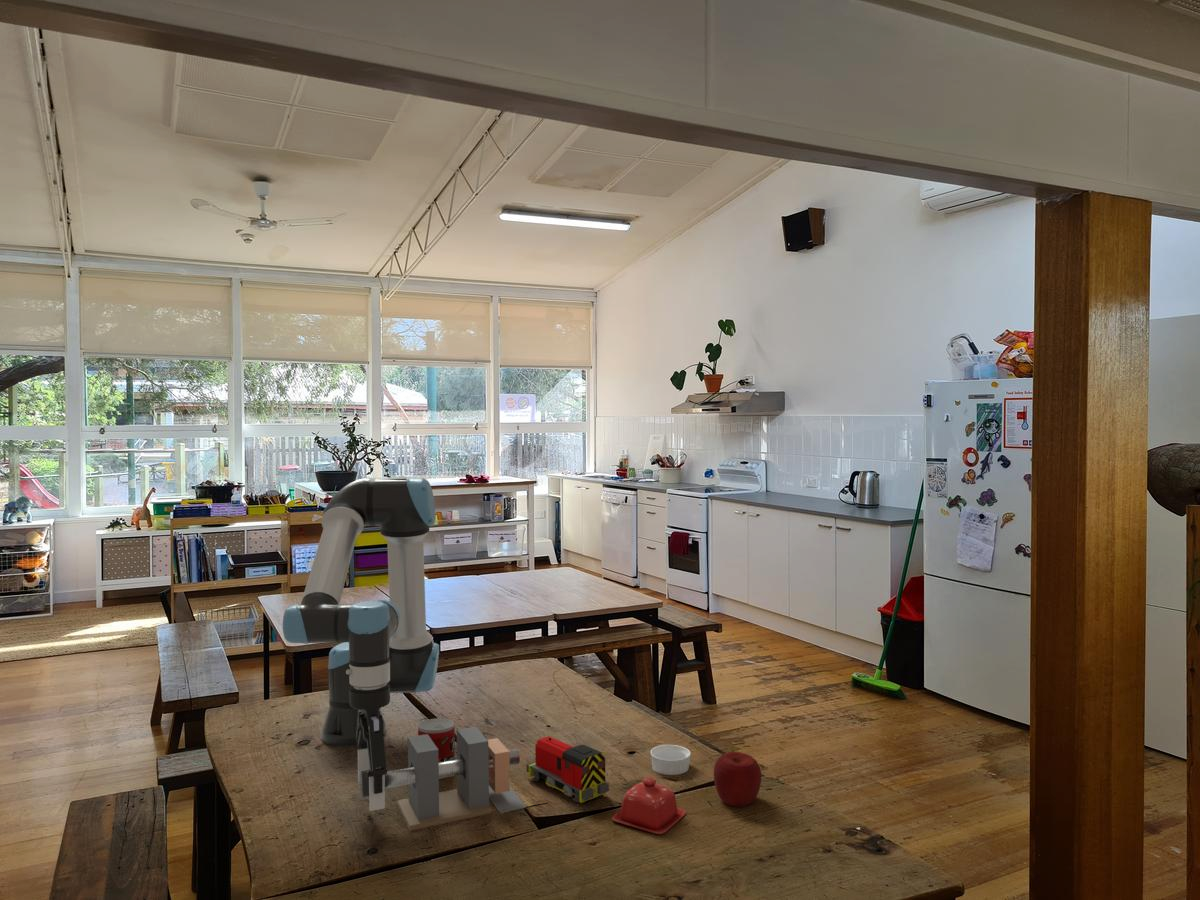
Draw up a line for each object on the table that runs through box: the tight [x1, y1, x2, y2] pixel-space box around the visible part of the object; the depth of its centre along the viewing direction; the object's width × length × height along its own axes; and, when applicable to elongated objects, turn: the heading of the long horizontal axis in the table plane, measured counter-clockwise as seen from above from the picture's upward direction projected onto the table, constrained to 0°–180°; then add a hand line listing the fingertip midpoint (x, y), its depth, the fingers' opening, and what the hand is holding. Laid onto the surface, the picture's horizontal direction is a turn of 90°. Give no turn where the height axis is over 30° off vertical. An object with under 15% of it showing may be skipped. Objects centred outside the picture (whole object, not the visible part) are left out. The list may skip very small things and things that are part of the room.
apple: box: [713, 751, 762, 808], centre depth 168 cm, size 10×10×10 cm
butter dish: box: [611, 776, 687, 835], centre depth 161 cm, size 12×12×8 cm
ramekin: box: [650, 744, 692, 776], centre depth 184 cm, size 9×9×4 cm
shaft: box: [359, 748, 521, 799], centre depth 166 cm, size 31×5×5 cm, turn 115°
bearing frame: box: [396, 726, 492, 832], centre depth 166 cm, size 16×12×14 cm
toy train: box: [526, 735, 610, 804], centre depth 175 cm, size 7×19×10 cm, turn 42°
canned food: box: [417, 717, 456, 780], centre depth 183 cm, size 8×8×11 cm
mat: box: [489, 786, 527, 814], centre depth 172 cm, size 14×10×1 cm
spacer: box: [487, 737, 511, 794], centre depth 170 cm, size 8×3×8 cm, turn 25°
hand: (371, 794), depth 160 cm, fingers open, 13 cm apart
